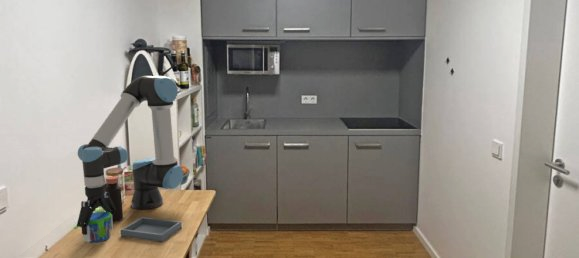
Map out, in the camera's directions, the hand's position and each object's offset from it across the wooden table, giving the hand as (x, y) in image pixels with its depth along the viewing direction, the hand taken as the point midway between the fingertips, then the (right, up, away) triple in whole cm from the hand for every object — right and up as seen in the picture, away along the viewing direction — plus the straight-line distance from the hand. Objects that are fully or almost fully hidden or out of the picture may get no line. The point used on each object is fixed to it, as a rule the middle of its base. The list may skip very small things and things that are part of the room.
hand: (98, 234), depth 187 cm
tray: (+20, 0, +7) cm, 21 cm away
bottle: (-2, +2, +22) cm, 22 cm away
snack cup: (0, -2, +1) cm, 2 cm away
